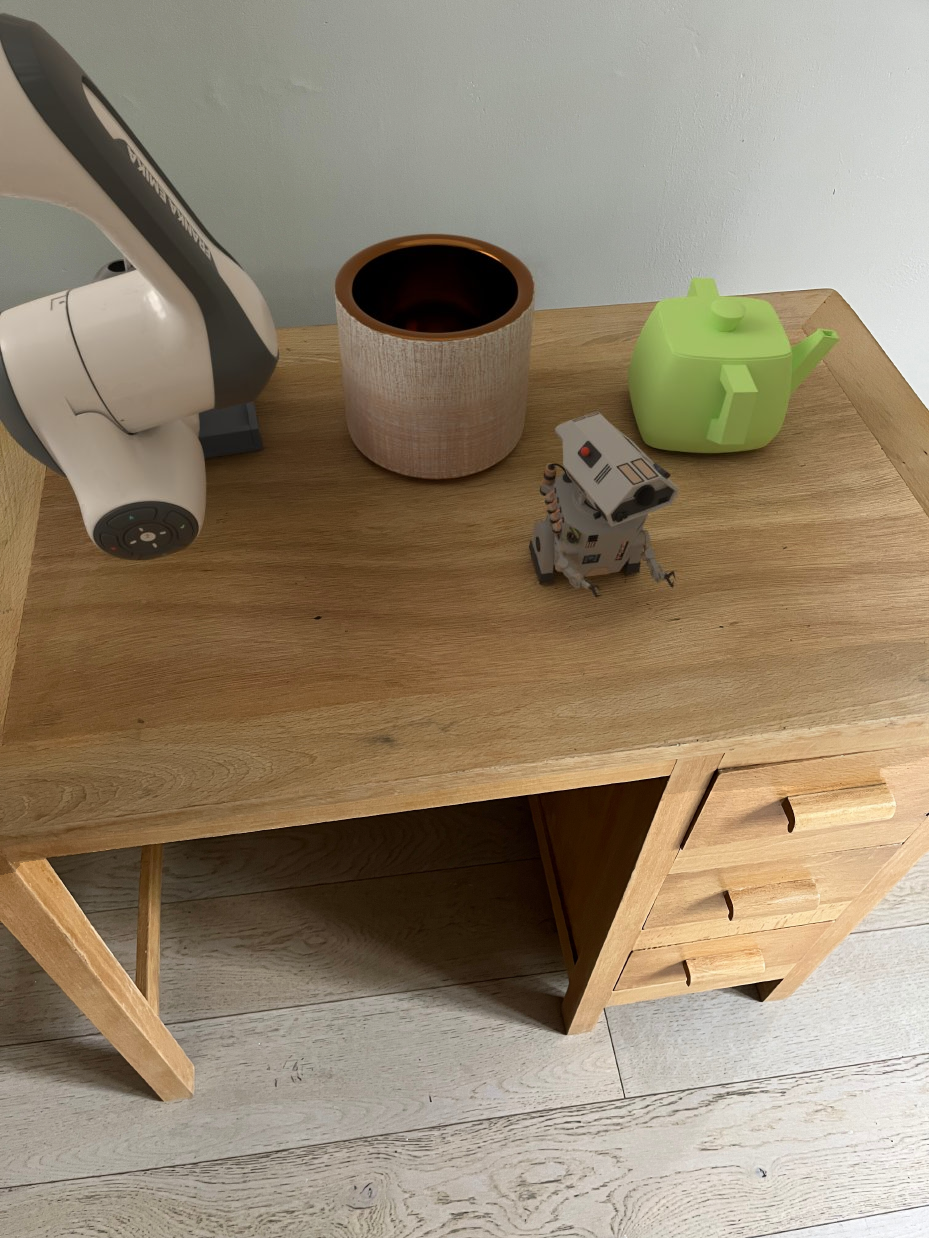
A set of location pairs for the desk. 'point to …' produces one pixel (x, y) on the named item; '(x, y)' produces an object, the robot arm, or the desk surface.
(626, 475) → the figurine
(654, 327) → the teapot
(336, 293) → the planter
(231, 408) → the tray
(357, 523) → the desk surface
